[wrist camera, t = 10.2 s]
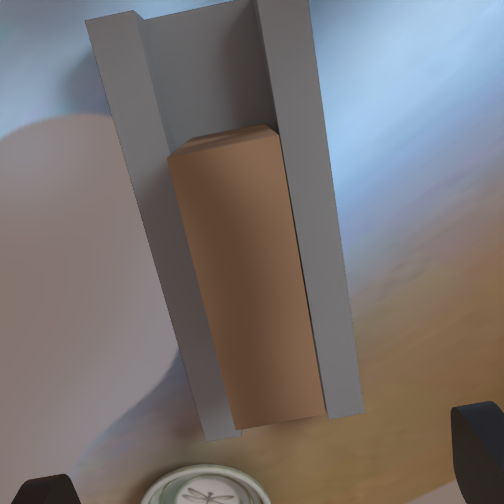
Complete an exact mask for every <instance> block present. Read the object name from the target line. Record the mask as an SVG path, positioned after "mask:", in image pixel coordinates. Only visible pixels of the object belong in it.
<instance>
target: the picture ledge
mask: <svg viewBox="0 0 504 504" xmlns="http://www.w3.org/2000/svg"><path fill="white" fill-rule="evenodd" d="M85 24H86V27H87V31H88V34H89V37H90V41H91V44H92V48H93V51H94V55H95V58H96V62H97V65H98V69H99V72H100V76H101V79H102V83H103V86H104V89H105V93H106V96H107V100H108V103H109V107H110V110H111V114H112V117H113V121H114V124H115V127H116V131H117V134H118V138H119V141H120V145H121V148H122V152H123V155H124V159H125V162H126V166H127V169H128V173H129V176H130V179H131V183H132V186H133V190H134V193H135V197H136V200H137V204H138V207H139V210H140V214H141V218H142V221H143V225H144V228H145V231H146V235H147V238H148V242H149V245H150V249H151V252H152V256H153V259H154V263H155V266H156V270H157V273H158V276H159V280H160V283H161V287H162V290H163V294H164V297H165V301H166V304H167V308H168V311H169V315H170V318H171V322H172V325H173V328H174V332H175V335H176V339H177V342H178V346H179V349H180V353H181V356H182V360H183V363H184V367H185V370H186V373H187V377H188V380H189V384H190V387H191V391H192V394H193V398H194V401H195V405H196V408H197V412H198V415H199V419H200V422H201V425H202V429H203V432H204V436H205V439H206V442H209V441H215V440H220V439H226V438H231V437H237V436H242V429H241V430H235V426H234V422H233V418H232V414H231V410H230V406H229V402H228V398H227V394H226V390H225V386H224V382H223V378H222V374H221V371H220V367H219V363H218V359H217V355H216V351H215V347H214V343H213V339H212V335H211V331H210V327H209V323H208V319H207V315H206V311H205V307H204V303H203V299H202V296H201V292H200V288H199V284H198V280H197V276H196V272H195V268H194V264H193V260H192V256H191V252H190V248H189V244H188V240H187V236H186V232H185V228H184V224H183V221H182V217H181V213H180V209H179V205H178V201H177V197H176V193H175V189H174V185H173V181H172V177H171V173H170V169H169V165H168V161H167V157H168V156H170V155H171V154H172V153H173V152H175V151H176V150H177V149H178V148H180V147H181V146H182V145H183V144H185V143H186V142H187V141H188V140H190V139H191V138H193V137H198V136H203V135H208V134H213V133H218V132H223V131H228V130H233V129H238V128H243V127H248V126H253V125H258V124H262V123H264V124H266V125H267V126H268V127H269V128H271V129H272V130H273V131H274V132H275V133H277V134H278V135H279V139H280V145H281V151H282V157H283V163H284V169H285V175H286V181H287V187H288V193H289V199H290V205H291V211H292V217H293V223H294V229H295V234H296V240H297V246H298V252H299V258H300V264H301V270H302V276H303V282H304V288H305V294H306V300H307V306H308V312H309V318H310V324H311V330H312V336H313V342H314V348H315V354H316V360H317V365H318V371H319V377H320V383H321V389H322V395H323V401H324V405H325V408H326V412H327V415H328V419H335V418H340V417H346V416H351V415H357V414H362V413H365V411H364V404H363V397H362V389H361V382H360V375H359V368H358V360H357V353H356V346H355V338H354V331H353V324H352V317H351V309H350V302H349V295H348V288H347V280H346V273H345V266H344V258H343V251H342V244H341V237H340V229H339V222H338V215H337V207H336V200H335V193H334V186H333V178H332V171H331V164H330V157H329V149H328V142H327V135H326V127H325V120H324V113H323V106H322V98H321V91H320V84H319V76H318V69H317V62H316V55H315V47H314V40H313V33H312V25H311V18H310V11H309V4H308V0H234V1H229V2H225V3H220V4H216V5H211V6H206V7H202V8H197V9H192V10H188V11H183V12H179V13H174V14H169V15H165V16H160V17H156V18H151V19H146V20H144V19H143V18H142V17H141V16H140V15H138V14H137V13H136V12H135V11H134V10H131V11H127V12H122V13H118V14H113V15H108V16H104V17H99V18H95V19H90V20H86V21H85Z"/></svg>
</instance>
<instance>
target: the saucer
mask: <svg viewBox="0 0 504 504" xmlns="http://www.w3.org/2000/svg"><path fill="white" fill-rule="evenodd" d="M140 504H271V501H270V498H269V496H268V494H267V493H266V491H265V490H264V488H263V487H262V486H261V485H260V484H259V483H258V482H257V481H256V480H255V479H254V478H252V477H251V476H249V475H248V474H246V473H244V472H242V471H240V470H237V469H234V468H231V467H228V466H223V465H217V464H198V465H191V466H186V467H182V468H179V469H176V470H174V471H172V472H170V473H168V474H166V475H164V476H162V477H161V478H159V479H158V480H157V481H156V482H154V483H153V484H152V485H151V486H150V487H149V489H148V490H147V491H146V492H145V494H144V496H143V498H142V500H141V502H140Z"/></svg>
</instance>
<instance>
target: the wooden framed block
mask: <svg viewBox="0 0 504 504" xmlns="http://www.w3.org/2000/svg"><path fill="white" fill-rule="evenodd" d="M167 161H168V165H169V169H170V173H171V177H172V181H173V185H174V189H175V193H176V197H177V201H178V205H179V209H180V213H181V217H182V221H183V224H184V228H185V232H186V236H187V240H188V244H189V248H190V252H191V256H192V260H193V264H194V268H195V272H196V276H197V280H198V284H199V288H200V292H201V296H202V299H203V303H204V307H205V311H206V315H207V319H208V323H209V327H210V331H211V335H212V339H213V343H214V347H215V351H216V355H217V359H218V363H219V367H220V371H221V374H222V378H223V382H224V386H225V390H226V394H227V398H228V402H229V406H230V410H231V414H232V418H233V422H234V426H235V430H241V429H247V428H252V427H258V426H263V425H269V424H274V423H280V422H285V421H291V420H296V419H302V418H308V417H313V416H319V415H324V414H326V413H325V407H324V401H323V395H322V389H321V383H320V377H319V371H318V365H317V360H316V354H315V348H314V342H313V336H312V330H311V324H310V318H309V312H308V306H307V300H306V294H305V288H304V282H303V276H302V270H301V264H300V258H299V252H298V246H297V240H296V234H295V229H294V223H293V217H292V211H291V205H290V199H289V193H288V187H287V181H286V175H285V169H284V163H283V157H282V151H281V145H280V139H279V135H278V134H277V133H275V132H274V131H273V130H272V129H271V128H269V127H268V126H267V125H266V124H264V123H262V124H258V125H253V126H248V127H243V128H238V129H233V130H228V131H223V132H218V133H213V134H208V135H203V136H198V137H193V138H191V139H190V140H188V141H187V142H186V143H185V144H183V145H182V146H181V147H180V148H178V149H177V150H176V151H175V152H173V153H172V154H171V155H170V156H168V157H167Z"/></svg>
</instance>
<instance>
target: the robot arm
mask: <svg viewBox="0 0 504 504" xmlns="http://www.w3.org/2000/svg"><path fill="white" fill-rule="evenodd" d="M451 430H452V447H453V464H454V471H455V475H456V479H457V482H458V485H459V488H460V491H461V493H462V495H463V497H464V499H465V501H466V503H467V504H504V413H503V412H502V410H501V409H500V408H499V407H498V406H497V405H496V404H495V403H494V402H492V401H486V402H481V403H475V404H469V405H463V406H458V407H453V408H452V410H451ZM11 504H81V502H80V500H79V498H78V495H77V493H76V491H75V488H74V486H73V484H72V481H71V479H70V478H69V476H67V475H66V474H59V475H54V476H48V477H42V478H36V479H30V480H28V481H26V482H25V483H24V484H23V485H22V486H21V487H20V489H19V491H18V493H17V494H16V496H15V498H14V500H13V501H12V503H11Z"/></svg>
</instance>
